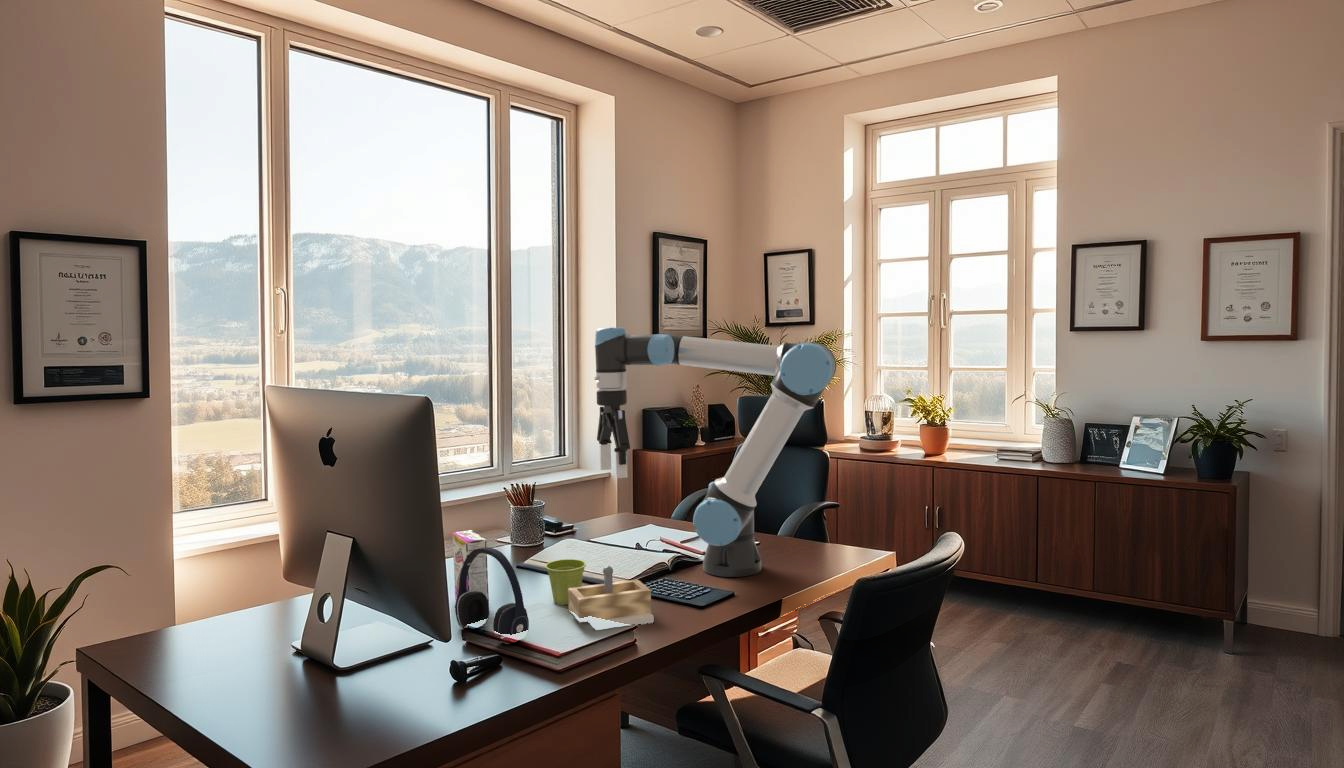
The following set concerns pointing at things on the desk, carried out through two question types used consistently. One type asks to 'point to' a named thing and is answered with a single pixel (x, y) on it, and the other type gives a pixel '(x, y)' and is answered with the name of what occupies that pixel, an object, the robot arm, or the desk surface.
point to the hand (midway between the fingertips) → (613, 473)
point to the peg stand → (628, 619)
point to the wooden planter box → (610, 600)
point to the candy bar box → (478, 568)
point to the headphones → (476, 604)
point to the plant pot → (564, 577)
